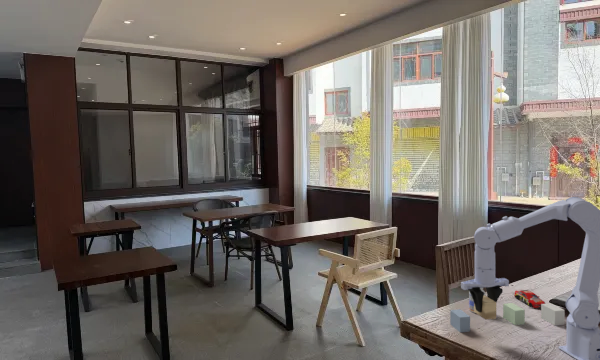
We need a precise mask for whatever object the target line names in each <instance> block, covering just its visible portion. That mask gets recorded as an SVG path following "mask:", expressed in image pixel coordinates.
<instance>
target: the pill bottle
mask: <svg viewBox="0 0 600 360" xmlns="http://www.w3.org/2000/svg"><path fill="white" fill-rule="evenodd" d="M480 289H481V291H482V292H484V295H485V296H487V294H486V292H485V290H484V288H480ZM468 301H469V302H468V306H469V307H468V309H469V311H470V312H471V313H474V314H476V313H475V312H474V301H473V298H472V296H471V294H470V292H469V291H468Z"/></svg>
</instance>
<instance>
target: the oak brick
mask: <svg viewBox="0 0 600 360" xmlns="http://www.w3.org/2000/svg"><path fill="white" fill-rule="evenodd" d="M485 295H486V294H485ZM485 295H484V296H483V301H482V312H478V311H477V310H476V308H475V304H474V312H475V313H474V314H477V315H478V316H479V317H481V318H482V319H484V320H496V319H497V303H496V302H495V301H493V300H492V299H490V298H488V297H487V295H486V296H485Z"/></svg>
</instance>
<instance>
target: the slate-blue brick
mask: <svg viewBox="0 0 600 360" xmlns="http://www.w3.org/2000/svg"><path fill="white" fill-rule="evenodd" d="M449 314H450V315H449V316H450V317H449V318H450V324H449V325H451V326H452V328H454V329H455V330H457V332H459V333H466V332H467V333H469V332H471V315H468V314H467V313H466V312H465V311H463V310H462V309H461V308H459V309H457V308H456V309H450V311H449Z"/></svg>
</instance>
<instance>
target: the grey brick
mask: <svg viewBox="0 0 600 360" xmlns="http://www.w3.org/2000/svg"><path fill="white" fill-rule="evenodd" d="M540 310H541V312H540V319H542V320H543V321H545V322H547V323H549V324H551V325H553V326H554V327H555V326H557V327H558V326H565V316H566V315H565V314H566V313H565V309H564V308H561V307H559V306H557V305H555V304H553V303H551V302H549V303H545V304H541V308H540Z"/></svg>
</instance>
